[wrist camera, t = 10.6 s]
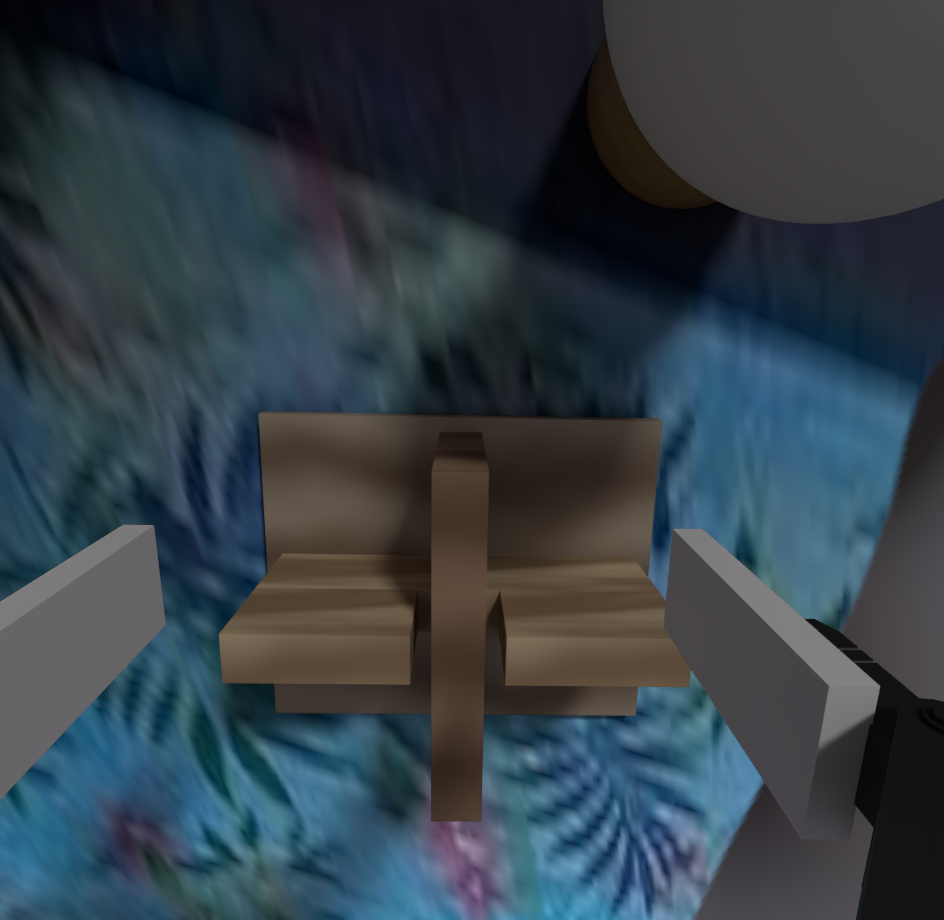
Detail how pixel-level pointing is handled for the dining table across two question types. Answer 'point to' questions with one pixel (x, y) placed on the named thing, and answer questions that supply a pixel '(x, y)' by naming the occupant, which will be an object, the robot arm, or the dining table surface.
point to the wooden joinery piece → (409, 565)
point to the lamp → (773, 105)
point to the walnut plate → (458, 624)
